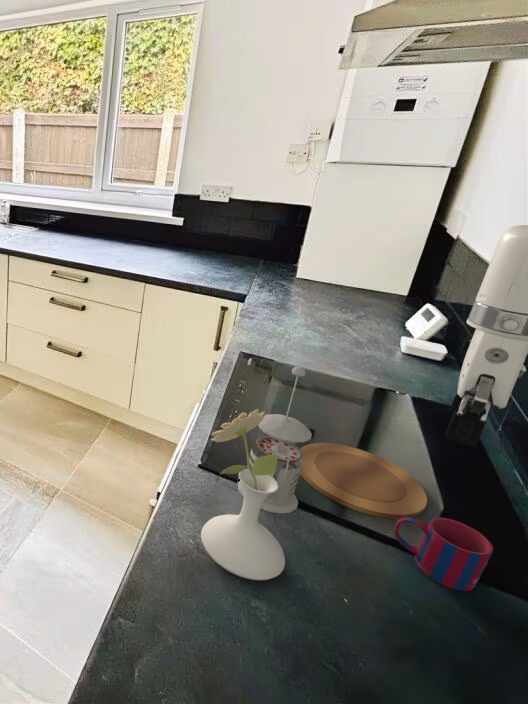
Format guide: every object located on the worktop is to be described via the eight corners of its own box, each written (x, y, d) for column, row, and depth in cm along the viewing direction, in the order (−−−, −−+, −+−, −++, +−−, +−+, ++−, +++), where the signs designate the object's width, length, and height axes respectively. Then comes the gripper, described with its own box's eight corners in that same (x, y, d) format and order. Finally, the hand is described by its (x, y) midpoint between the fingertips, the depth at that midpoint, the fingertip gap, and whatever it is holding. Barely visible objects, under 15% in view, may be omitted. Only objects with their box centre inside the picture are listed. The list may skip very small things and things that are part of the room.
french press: (296, 485, 84) (331, 362, 75) (301, 528, 74) (343, 393, 65) (237, 468, 88) (264, 350, 79) (235, 508, 78) (266, 377, 69)
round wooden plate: (435, 484, 85) (437, 479, 84) (412, 538, 72) (414, 533, 72) (315, 435, 99) (316, 431, 99) (278, 474, 86) (279, 469, 86)
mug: (472, 600, 62) (491, 563, 60) (382, 555, 69) (396, 519, 67) (477, 573, 67) (495, 537, 64) (392, 532, 74) (406, 498, 71)
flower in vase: (258, 526, 74) (293, 390, 66) (299, 589, 64) (347, 436, 55) (178, 525, 74) (203, 389, 65) (206, 587, 63) (240, 435, 55)
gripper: (555, 345, 53) (496, 466, 59) (544, 312, 65) (496, 416, 71) (467, 327, 58) (422, 440, 64) (471, 300, 70) (433, 398, 76)
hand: (461, 428), depth 67 cm, fingers open, 9 cm apart
